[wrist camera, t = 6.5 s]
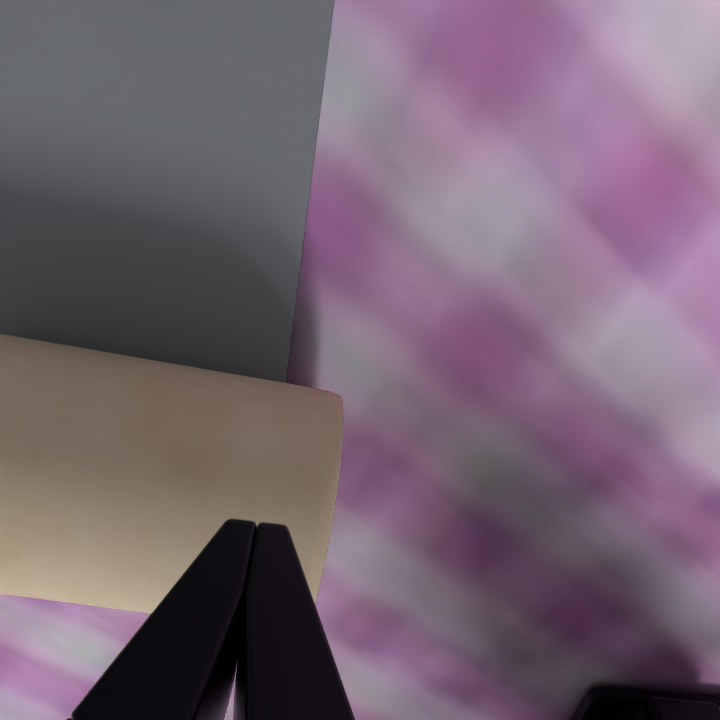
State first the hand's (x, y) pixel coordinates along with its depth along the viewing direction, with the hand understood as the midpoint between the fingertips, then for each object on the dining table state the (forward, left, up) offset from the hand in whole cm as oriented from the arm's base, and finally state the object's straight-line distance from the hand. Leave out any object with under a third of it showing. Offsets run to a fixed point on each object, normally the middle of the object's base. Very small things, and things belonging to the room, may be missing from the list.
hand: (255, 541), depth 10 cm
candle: (-4, -1, -5) cm, 7 cm away
